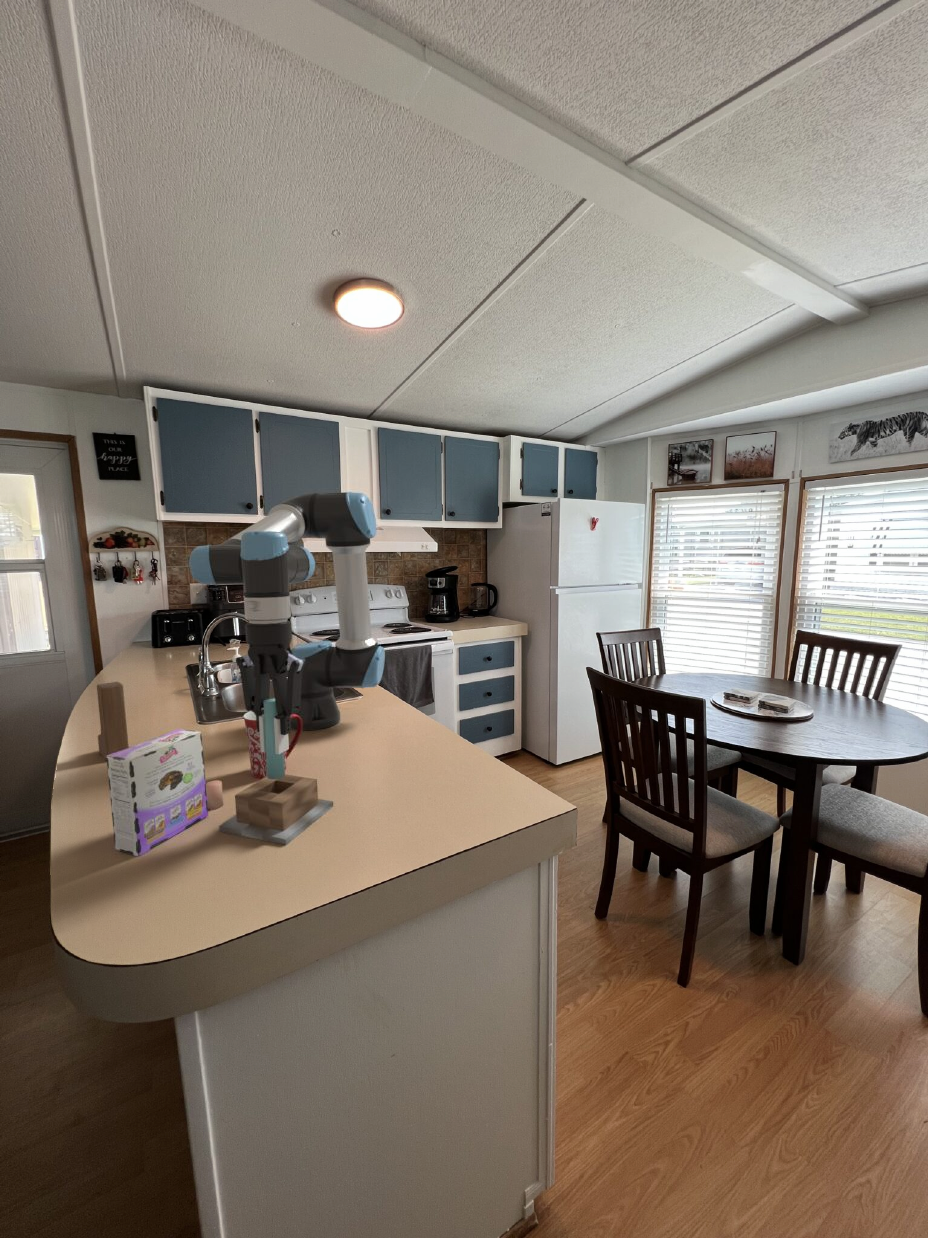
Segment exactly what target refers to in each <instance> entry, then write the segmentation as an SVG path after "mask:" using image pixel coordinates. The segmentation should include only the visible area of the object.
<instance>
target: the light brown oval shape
mask: <svg viewBox="0 0 928 1238" xmlns="http://www.w3.org/2000/svg"><path fill="white" fill-rule="evenodd" d="M205 783H206V794H207V805H208V811H212V810H214V811H215V810H217V809H220V808H222V807H223V805H224V796H223V782H222V780H210V781H208V782H205Z"/></svg>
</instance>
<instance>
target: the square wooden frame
mask: <svg viewBox="0 0 928 1238" xmlns="http://www.w3.org/2000/svg"><path fill="white" fill-rule="evenodd" d="M318 791H319V790H318V779H316V778H312V777H311V778H310V777H304V776H298V775H293V774H292V775H291V774H286V773H285V776H284V777H282V778H279V779H268V778H267V776H266V777H265V778H260V780H258V781H257V782H255V783H252V784H251V785H249V786H248V787H246V788H245V789H243V790H242V791H239V792H237V793H236V794H235V795H234V799H235V800H234V802H235V803H234V804H235V813H236V814H235V815H234V816H232V817H230V818H229V819H228V820H226V821H224V822H223V823H221V824H220V825H218V829H219V832H223V833H228V834H232V835H237V836H241V837H247V838H252V839H255V840H260V841H266V842H270V843H274V844H279V845H284V846H287V845H288V844H290V843H291V842H292V841H293V840H294V839H295V838H297V837H298V836H299V835H300V834H301V833H303V832H304V831H305V830H306V829H307V828H309V827H310V826H312V824H313V823H315V822H316V821H318V819H320V818H321V817H322V816H323V815H325V814H326V813H327V812H328V811H330V810H331V809H332V808H334V801H333V800H327V799H323V798H319V796H318V795H319V793H318Z"/></svg>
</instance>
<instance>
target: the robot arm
mask: <svg viewBox="0 0 928 1238" xmlns="http://www.w3.org/2000/svg"><path fill="white" fill-rule="evenodd" d="M376 535H377V519H376V513H375V510H374V506H373V504H372V502H371V499H370V498H369V497H368V495H367V494H365V493H362V492H352V491H351V492H350V491H347V492H344V491H343V492H319V493H318V492H317V493H316V492H310V493H304V494H300V495H297V496H294V497H291V498H289V499H287V500H285V501H283V502H280V503H278V504H276V505H274V506H273V507H272V508H271V509H270V510H269V512H268V513H267V516H265V517H263V518H262V519H260V520H259V521H256V522H255V523H253V524H252V525H250V526H248V527H247V528H245V529H243V530H242V531H240V532H238V533H236V534H235V535H233V536H232V537H230V538H229V539H227V540H226V541H224V542H222V543H220V544H216V545H212V544H207V545H198V546H196V547H195V548H194V549H193V550H192V552H191V553H190V556H189V560H188V561H189V562H188V563H189V565H188V566H189V569H190V574H191V576H192V577H193V579H194V580H195V581H196V582H198V583H199V584H202V585H213V586H214V585H215V586H219V585H221V586H223V585H224V586H227V585H229V586H230V585H232V586H233V585H243V587H242V588H243V603H244V607H243V609H244V618H245V620H247V621H248V622H246V624H245V626H244V629H245V630H244V631H245V641H246V644H248V646H249V647H248V650H247V653H246V654H243V655H242V656H237V657H236V658H235V663H236V665H237V667H238V670H239V673H240V679H241V680H240V681H241V687H242V693H243V700H244V705H245V711H247V712H250V711H252V712H254V714H255V715H256V723H257V731H258V732H260V747H261V752H266V742H265V722H264V703H263V701H264V700H267V699H270V688H271V683H272V688H273V695H274V698H275V702H276V708H277V715H276V716H275V718H274V733H275V752H276V754H281V753H282V752H284V751H286V750H288V749H289V745H290V742H289V734H290V733H291V732H292V730H295V731H296V730H297V720H296V718H293V719H291V715H292V714H296V715H298V716H299V717H300V718H301V719H302V731H315V730H321V729H326V728H329V727H333V726H335V725H337V724H338V723H340V721H341V711H340V709H339V706H338V703H337V701H336V698H335V695H334V688H346V689H348V688H349V689H350V688H353V689H354V688H358V689H364V688H375V687H377V686H378V685H379V684H380V683H381V680H382V678H383V673H384V668H385V659H386V658H385V657H386V653H385V652H386V651H385V648H384V647H383V646H381V645H379V644H378V639H377V638H376V636H375V635H373V634H372V626H371V611H370V599H369V598H370V596H369V586H368V585H369V583H368V570H367V568H368V567H367V556H366V554H367V553H366V550H367V549H368V548H369V546H371V539H373V538H375V536H376ZM300 539H325V547H326V548H327V549H328V550H329V551H331V553H332V559H333V560H332V561H333V572H334V583H335V584H334V585H335V591H336V592H335V593H336V595H335V596H336V606H337V615H338V625H339V638H338V639H337V640H336V641H335V646H333V644H332V641H330V640H319V641H313V642H312V641H311V642H307V643H303V644H299V645H296V646H293V647H292V648H291V642H292V639H293V637H292V635H293V634H292V622H290V621H289V620H288V619H290V618H291V617H292V611H291V610H292V609H291V594H290V585H299V584H301V583H304V582H307V581H308V580H309V579H311V577H312V576H313V575H314V573H315V569H316V561H315V557H314V555H313V554H312V553H311V552H310V551H309V550H308V549H307V548H306V547H304V546H301V545H300V546H299V545H298V544H289V543H293V542H296V541H297V542H298V540H300Z"/></svg>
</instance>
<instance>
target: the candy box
mask: <svg viewBox="0 0 928 1238" xmlns="http://www.w3.org/2000/svg"><path fill="white" fill-rule="evenodd" d="M202 736H203V735H202V732H201V731H197V730H196V731H195V730H189V729H183V728H177V729H176V730H172V731H170V732H168V733H165V734H162V735H160V736H157V737H154V738H152V739H148V740H146V741H143V742H140V743H139V744H138V743H137V744H135V745H133V746H130V747H129V748H127V749H124V750H121V751H118V752H116V753H113V754H110V755H107V756H106V757H107V760H106V766H107V776H108V786H109V787H108V788H109V796H110V807H111V817H112V827H113V836H114V837H113V839H114V848H115V850H117V851H120V852H122V853H125V854H129V855H132V856H135V857H141V856H142V855H143V854H146V853H148V852H149V851H150V850H152V849H154V848H155V847H157V846H159V845H160V844H162V843H164V842H166V841H168V840H169V839H171V838H173V837H175V836H176V835H178V834H179V833H181V832H183V831H184V830H187V829H188V828H190V827H192V826H193V825H194V824H196V823H198V822H201V821H202V820H203V819H206V818H207V817H208V816H209V810H208V805H207V794H206V783H207V782H206V773H205V772H206V771H205V763H204V762H205V760H204V749H203V748H204V747H203V737H202Z"/></svg>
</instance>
